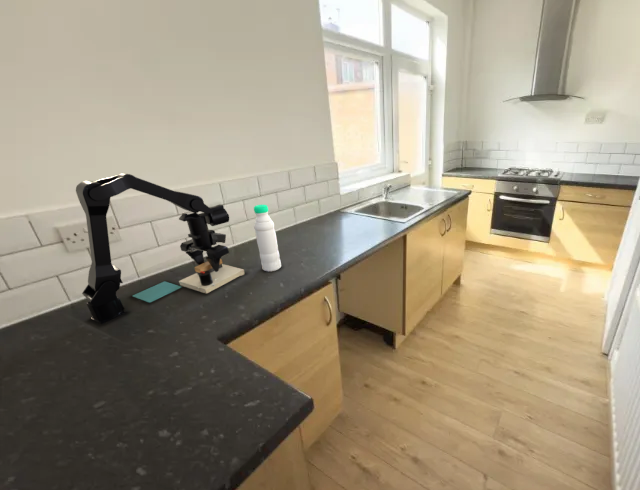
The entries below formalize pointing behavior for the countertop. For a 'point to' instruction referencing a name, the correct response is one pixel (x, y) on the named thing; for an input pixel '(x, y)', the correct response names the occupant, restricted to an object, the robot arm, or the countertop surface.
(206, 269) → the brush
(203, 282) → the knob
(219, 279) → the cream rectangular board
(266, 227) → the water bottle
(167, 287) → the dish cloth
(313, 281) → the countertop surface
